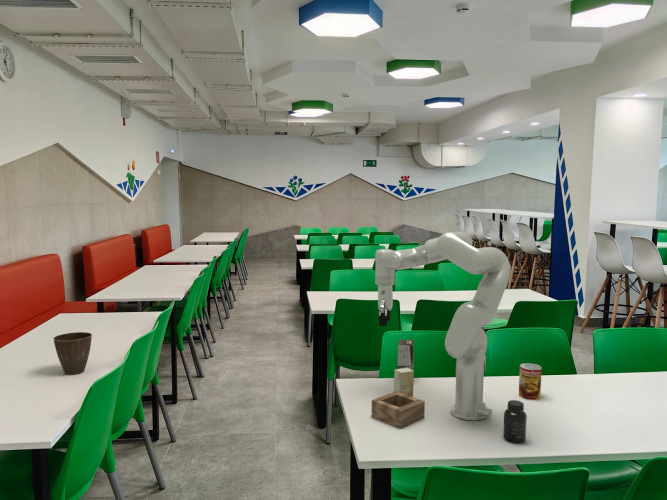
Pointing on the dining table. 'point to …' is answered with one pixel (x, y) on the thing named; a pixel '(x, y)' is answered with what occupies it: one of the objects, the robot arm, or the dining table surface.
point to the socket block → (398, 409)
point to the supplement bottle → (515, 422)
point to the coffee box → (405, 354)
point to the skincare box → (404, 381)
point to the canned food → (530, 381)
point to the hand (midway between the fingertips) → (384, 323)
